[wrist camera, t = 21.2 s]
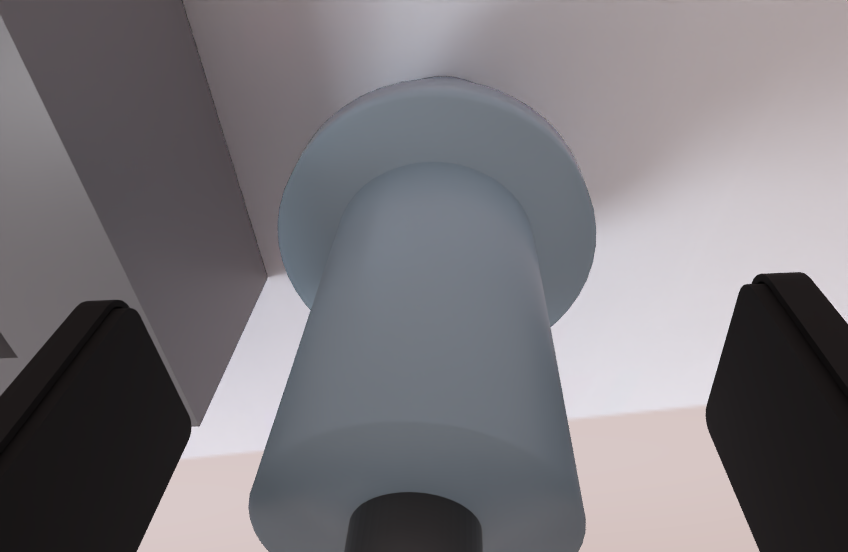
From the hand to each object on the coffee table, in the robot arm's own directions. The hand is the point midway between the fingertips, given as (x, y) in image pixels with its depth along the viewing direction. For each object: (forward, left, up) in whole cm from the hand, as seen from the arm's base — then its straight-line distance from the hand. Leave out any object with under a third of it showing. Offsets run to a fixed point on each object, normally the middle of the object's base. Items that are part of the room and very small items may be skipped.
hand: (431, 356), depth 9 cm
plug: (0, 0, -8) cm, 8 cm away
